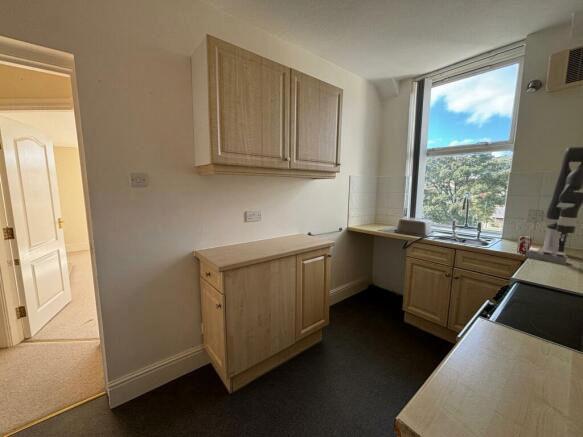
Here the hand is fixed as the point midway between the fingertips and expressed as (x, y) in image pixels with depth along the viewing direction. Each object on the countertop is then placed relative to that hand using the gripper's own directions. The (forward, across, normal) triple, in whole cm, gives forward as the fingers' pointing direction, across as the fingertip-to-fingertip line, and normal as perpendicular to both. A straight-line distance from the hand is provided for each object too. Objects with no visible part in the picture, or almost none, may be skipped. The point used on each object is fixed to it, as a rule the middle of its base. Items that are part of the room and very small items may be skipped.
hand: (560, 251), depth 151 cm
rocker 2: (+2, -2, 0) cm, 3 cm away
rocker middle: (+2, -2, -6) cm, 7 cm away
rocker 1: (+2, -2, -12) cm, 12 cm away
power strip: (+7, -2, -6) cm, 10 cm away
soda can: (+7, -11, -19) cm, 23 cm away
